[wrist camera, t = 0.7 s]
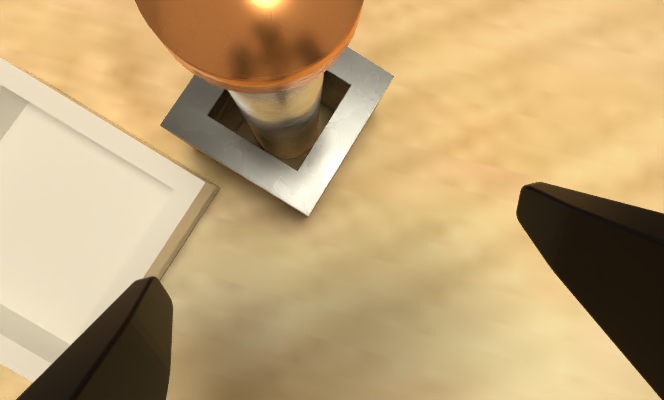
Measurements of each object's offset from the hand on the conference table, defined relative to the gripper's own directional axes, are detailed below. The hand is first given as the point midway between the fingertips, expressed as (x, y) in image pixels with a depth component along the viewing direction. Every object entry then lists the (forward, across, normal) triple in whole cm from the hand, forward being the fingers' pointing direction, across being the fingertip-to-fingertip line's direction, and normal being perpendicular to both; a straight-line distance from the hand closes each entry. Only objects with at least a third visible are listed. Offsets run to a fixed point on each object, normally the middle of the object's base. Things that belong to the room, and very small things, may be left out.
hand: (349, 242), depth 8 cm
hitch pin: (+15, +1, +2) cm, 15 cm away
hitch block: (+15, +1, +2) cm, 15 cm away
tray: (+13, +15, +5) cm, 20 cm away
